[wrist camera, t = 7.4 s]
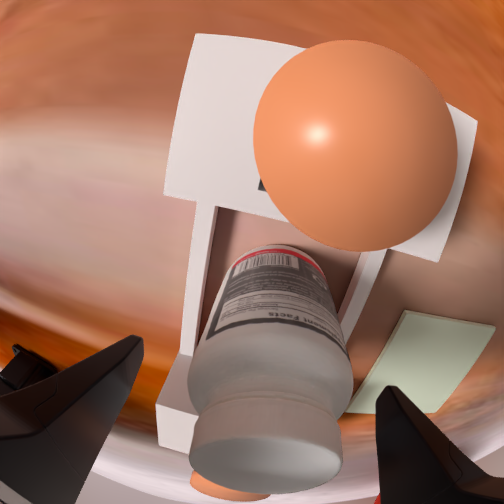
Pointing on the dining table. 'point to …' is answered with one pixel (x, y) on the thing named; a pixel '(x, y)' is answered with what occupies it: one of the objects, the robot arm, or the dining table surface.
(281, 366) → the pill bottle
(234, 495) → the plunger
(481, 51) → the dining table surface
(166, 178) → the holder
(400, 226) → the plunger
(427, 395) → the mat
